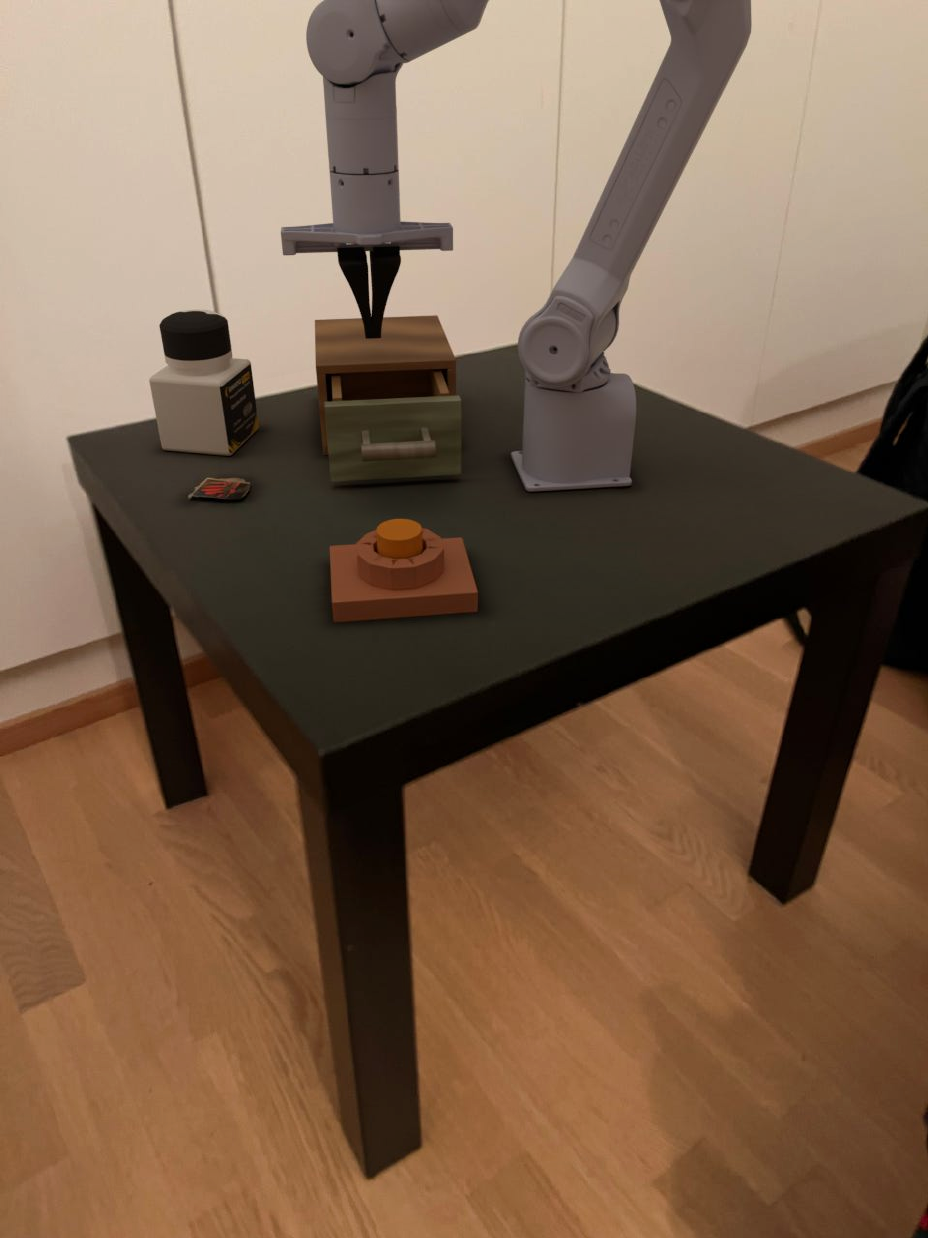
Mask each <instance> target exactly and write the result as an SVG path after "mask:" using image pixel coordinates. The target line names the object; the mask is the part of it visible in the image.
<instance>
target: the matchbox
mask: <svg viewBox="0 0 928 1238" xmlns="http://www.w3.org/2000/svg"><path fill="white" fill-rule="evenodd" d="M250 489H251V482H249V481H248V482H247V481H246V480H245V479H244V478H240V476H239V477H229V478H228V477H227V478H223V477H221V478H214V477H206V478H204V480H202V482H200V483H199V485H198V486H195V487H194V491H193V492H191V493H190V494H188V496H187V501H191V499H192V498H193V497H195V498H201V497H202V498H210V499H211V498H213V499H222V500H242V499H243V498H244V497H245V496H246V494H247V493H248V492H249V491H250ZM247 497H249V495H247V496H246V498H247Z"/></svg>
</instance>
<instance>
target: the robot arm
mask: <svg viewBox="0 0 928 1238" xmlns="http://www.w3.org/2000/svg"><path fill="white" fill-rule="evenodd" d="M489 1H490V0H321V2H319V3H318V4H317V5H316V6H315V8H314V9H313V10H312V11H311V14H310V16H309V18H308V21H307V27H306V33H305V37H306V40H305V41H306V49H307V53H308V55H309V58H310V61H311V63H312V64H313V67H314V68H315V69H316V71H317V72H318V73H319V74H320V75H321V76H322V84H323V98H324V99H323V101H324V111H325V112H324V115H325V127H326V128H325V129H326V142H327V156H328V157H327V159H328V170H329V183H330V197H331V199H330V201H331V211H332V213H331V214H332V222H328V223H319V224H318V223H317V224H308V225H296V226H281V227H280V239H281V240H280V241H281V249H282V250H281V251H282V256H296V255H297V254H317V253H318V254H319V253H321V254H322V253H323V254H324V253H337V263H338V265H339V267H340V271H341V272H342V274H343V276H344V277H345V280H346V281H347V283H348V286H349V288H350V290H351V292H352V294H353V297H354V300H355V302H356V305H357V307H358V311H359V314H360V316H361V317H360V318H362V321H363V325H364V332H365V338H366V339H374V338H381V329H382V321H383V317H384V315H385V312H386V311H385V310H386V306H387V303H388V301H389V300H388V299H389V296H390V293H391V290H392V287H393V285H394V283H395V280H396V277H397V275H398V273H399V272H400V271H399V270H400V267H401V264H402V256H401V251H421V250H423V251H424V250H440V251H442V252H449V251H450V252H452V251H454V227H453V225H452V223H451V222H422V221H402V220H401V219H402V218H401V193H400V191H401V190H400V169H399V167H400V166H399V165H400V164H399V139H398V137H399V135H398V109H397V108H398V107H397V106H398V105H397V86H396V85H397V84H396V82H397V77H398V74H399V72H400V71H401V69H402V68H403V66H404V64H408V63H410V62H412V61H414V60H416V59H418V58H420V57H422V56H424V55H426V54H428V53H430V52H432V51H434V50H437V49H439V48H440V47H442V46H444V45H446V44H448V43H450V42H452V41H454V40H457V39H458V38H461V37H463V36H464V35H466V34H468V33H470V32H472V31H474V30H476V29H477V28H478V27H479V26H480V24H481V21H482V19H483V16H484V13H485V10H486V8H487V6H488V3H489ZM659 3H660V7H661V9H662V13H663V16H664V19H665V23H666V25H667V27H668V31H669V35H670V43H669V46H668V48H667V50H666V52H665V55H664V57H663V59H662V61H661V64H660V66H659V68H658V70H657V72H656V75H655V77H654V78H653V81H652V83H651V85H650V87H649V89H648V92H647V94H646V96H645V98H644V101H643V103H642V105H641V106H640V109H639V111H638V114H637V115H636V118H635V120H634V123H633V125H632V127H631V129H630V131H629V132H628V133H629V134H628V135H627V138H626V140H625V143H624V145H623V146H622V148H621V151H620V153H619V155H618V157H617V160H616V162H615V164H614V166H613V168H612V170H611V172H610V174H609V177H608V179H607V182H606V183H605V186H604V188H603V190H602V192H601V194H600V196H599V199H598V201H597V203H596V206H595V208H594V210H593V212H592V214H591V217H590V218H589V221H588V223H587V224H586V227H585V230H584V232H583V234H582V235H581V238H580V241H579V243H578V244H577V247H576V249H575V250H574V251H575V252H574V254H573V256H572V258H571V259H570V261H569V263H568V265H567V266H566V267H565V269H564V271H563V272H562V273H561V275H560V276H559V278H558V279H557V281H556V283H555V284H554V286H553V288H552V290H551V292H550V294H549V297H548V298H547V300H546V302H545V304H543V306H542V307H541V308H540V309H539V310H538V311H536V312H535V313H534V314H532V315H531V316H530V317H529V318H528V319H527V320H526V321H525V322H524V324H523V325H522V327H521V329H520V332H519V335H518V338H517V354H518V358H519V361H520V363H521V366H522V367H523V369H524V371H525V372H524V394H523V395H524V397H523V421H522V422H523V424H522V448H521V450H515V451H512V452H511V453H510V458H511V460H512V463H513V465H514V468H515V469H516V471H517V473H518V476H519V478H520V480H521V483H522V485H523V487H524V490H526V492H530V493H534V492H549V491H551V492H552V491H566V490H584V489H603V488H617V487H629V486H631V485H632V484H633V480H632V478H631V477H630V476H631V470H632V469H631V467H632V458H633V450H634V441H635V430H636V421H637V395H636V389H635V385H634V382H633V379H632V378H631V376H630V375H629V374H627V373H622V372H621V373H620V372H619V373H618V372H611V368H610V366H609V361H608V360H607V357H606V356H605V352H606V350H607V349H608V348H610V346H611V345H612V344H613V343H614V341H615V339H616V337H617V335H618V332H619V327H620V308H621V304H622V302H623V299H624V297H625V295H626V294H627V291H628V289H629V286H630V285H629V284H630V280H631V276H632V273H633V272H634V270H635V267H636V266H637V264H638V262H639V261H640V258H641V256H642V254H643V252H644V250H645V248H646V246H647V245H648V242H649V240H650V238H651V236H652V234H653V232H654V230H655V228H656V226H657V224H658V222H659V220H660V218H661V217H662V214H663V212H664V210H665V208H666V207H667V204H668V202H669V200H670V198H671V196H672V194H673V193H674V191H675V188H676V186H677V185H678V183H679V181H680V179H681V177H682V175H683V173H684V171H685V168H686V167H687V165H688V163H689V161H690V159H691V157H692V155H693V153H694V151H695V149H696V147H697V145H698V143H699V141H700V139H701V138H702V135H703V133H704V131H705V129H706V127H707V126H708V123H709V121H710V120H711V117H712V116H713V113H714V111H715V109H716V108H717V105H718V104H719V101H720V99H721V98H722V96H723V94H724V92H725V90H726V88H727V86H728V84H729V83H730V80H731V78H732V76H733V74H734V72H735V70H736V68H737V66H738V64H739V62H740V60H741V59H742V56H743V54H744V52H745V51H746V48H747V46H748V44H749V41H750V37H751V34H752V0H659ZM367 252H369V264H368V255H367ZM369 266H370V278H369ZM370 280H371V281H370ZM370 282H371V301H370Z"/></svg>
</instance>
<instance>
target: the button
mask: <svg viewBox="0 0 928 1238" xmlns="http://www.w3.org/2000/svg"><path fill="white" fill-rule="evenodd" d="M422 528H423V527H422V525H421V524H420V523H419V522H417V521H415V520H412V519H410V518H409V519H408V518H392V519H388V520H385V521H383V522H381V523H380V524H379V525H378V526H377V527H376V529H375V530H376V534H377V551H378V554H379V555H380V556H381V557H386V558H391V559H409V558H412V557H415V556H417V555H420V554H421V553H422V551H423V543H422Z"/></svg>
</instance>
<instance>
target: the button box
mask: <svg viewBox="0 0 928 1238" xmlns="http://www.w3.org/2000/svg"><path fill="white" fill-rule="evenodd" d="M422 543H423V551H422V553H421V554H420V555H417V556H415V557H412V558H409V559H391V558H386V557H381V556H380V555H379V554H378V551H377V534H376V529H375V530H372V531H369V532H367V533H365V534H364V535H363V536H362V537H361V538H360V539H359V540H358V541H357V542H356V543H353V544H340V545H339V544H338V545H330V546H329V564H330V566H329V567H330V588H331V591H330V592H331V607H332V618H333V619H332V620H333V623H347V622H348V623H349V622H359V621H360V622H362V621H373V620H375V621H377V620H386V619H388V620H389V619H400V618H401V619H403V618H413V617H415V618H416V617H428V616H442V615H451V614H452V615H454V614H456V615H457V614H468V613H478V611H479V591H478V588H477V587H478V586H477V584H476V581H475V577H474V573H473V569H472V566H471V564H470V560H469V557H468V552H467V550H466V546H465V543H464V539H463V537H461V536H460V537H446V538H445V537H444V538H442V537H441V536H439V535H438V534H437V533H435V532H433V531H432V530H430V529H428V528H423V527H422Z"/></svg>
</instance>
